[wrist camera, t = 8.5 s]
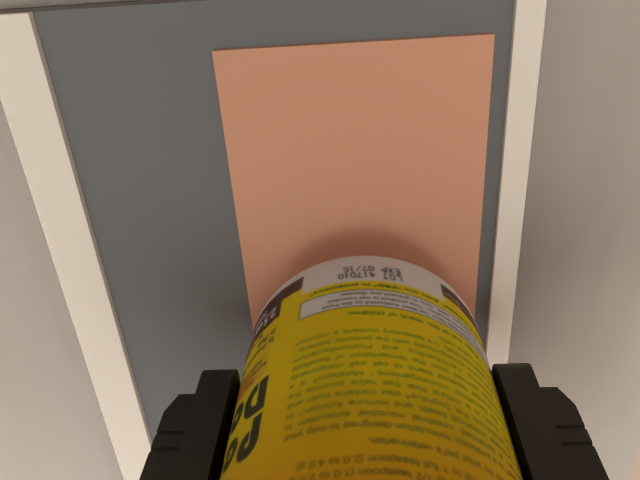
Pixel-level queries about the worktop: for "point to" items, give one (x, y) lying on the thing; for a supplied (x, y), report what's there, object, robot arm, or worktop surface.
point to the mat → (262, 167)
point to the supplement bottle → (368, 382)
